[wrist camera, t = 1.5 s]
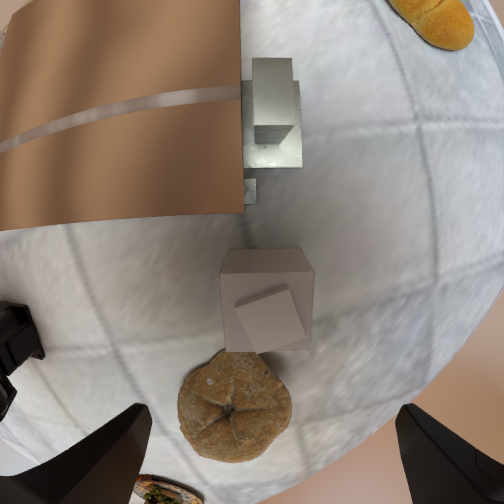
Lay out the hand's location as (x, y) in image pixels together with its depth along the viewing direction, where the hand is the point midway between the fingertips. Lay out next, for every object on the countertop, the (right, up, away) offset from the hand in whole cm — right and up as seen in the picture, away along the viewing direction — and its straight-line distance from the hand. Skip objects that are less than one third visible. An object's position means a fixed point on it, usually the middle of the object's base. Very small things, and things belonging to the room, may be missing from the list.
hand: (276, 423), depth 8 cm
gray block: (0, +3, +12) cm, 13 cm away
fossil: (-3, -6, +15) cm, 16 cm away
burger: (-14, -31, +22) cm, 41 cm away
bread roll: (+14, +27, +6) cm, 31 cm away
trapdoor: (-9, +16, +7) cm, 20 cm away
